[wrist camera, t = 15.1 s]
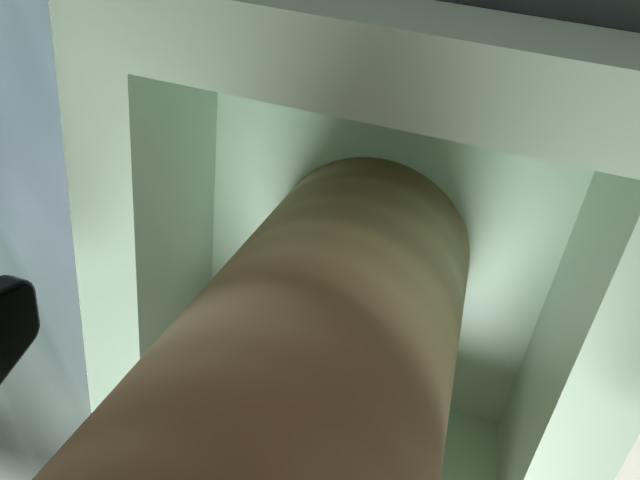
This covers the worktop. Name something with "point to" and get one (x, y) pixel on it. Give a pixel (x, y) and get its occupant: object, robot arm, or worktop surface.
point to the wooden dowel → (302, 347)
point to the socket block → (385, 143)
